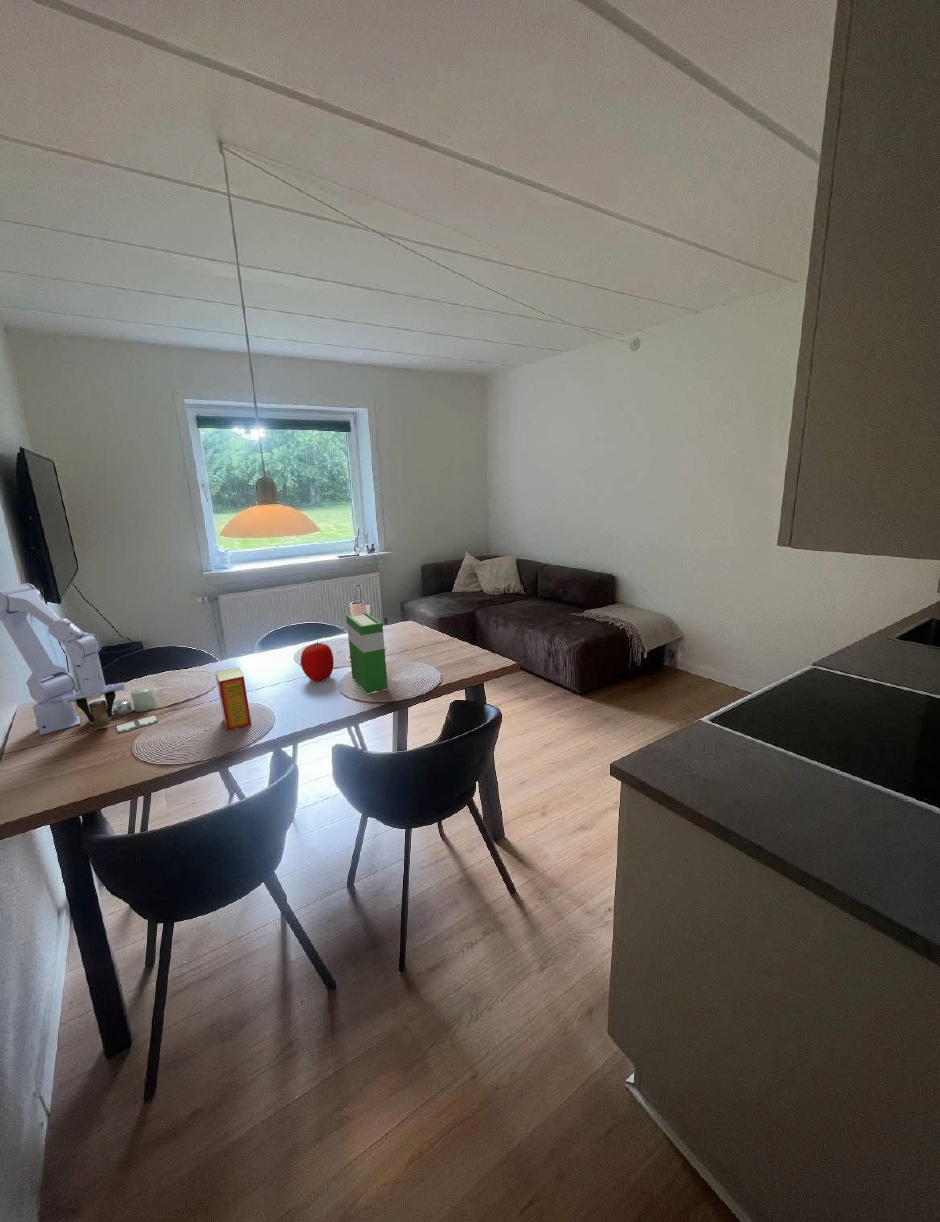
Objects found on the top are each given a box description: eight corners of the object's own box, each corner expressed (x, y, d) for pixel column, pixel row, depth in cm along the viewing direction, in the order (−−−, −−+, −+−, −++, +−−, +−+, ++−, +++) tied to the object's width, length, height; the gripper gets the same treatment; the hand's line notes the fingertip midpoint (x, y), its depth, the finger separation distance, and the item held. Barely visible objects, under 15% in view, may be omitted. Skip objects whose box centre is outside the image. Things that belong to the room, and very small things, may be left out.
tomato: (329, 685, 173) (325, 648, 170) (298, 686, 173) (293, 648, 170) (339, 672, 185) (336, 637, 182) (310, 673, 186) (305, 637, 182)
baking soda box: (223, 719, 150) (215, 670, 146) (246, 713, 154) (238, 665, 150) (227, 731, 143) (218, 680, 139) (251, 725, 146) (243, 675, 142)
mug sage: (136, 713, 156) (132, 696, 155) (132, 706, 162) (128, 689, 160) (157, 707, 160) (154, 690, 159) (153, 700, 166) (150, 684, 164)
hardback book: (352, 677, 180) (346, 615, 174) (371, 673, 183) (366, 612, 177) (367, 694, 165) (360, 626, 159) (387, 689, 168) (382, 623, 162)
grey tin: (115, 717, 154) (112, 707, 153) (113, 712, 158) (111, 702, 157) (133, 712, 157) (131, 702, 156) (131, 708, 161) (128, 698, 160)
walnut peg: (94, 729, 144) (89, 707, 142) (93, 724, 147) (88, 703, 145) (111, 724, 146) (106, 703, 145) (109, 720, 149) (104, 699, 148)
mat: (118, 733, 143) (118, 732, 143) (115, 725, 148) (115, 724, 148) (158, 722, 150) (157, 721, 150) (153, 714, 155) (153, 714, 155)
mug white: (89, 726, 149) (85, 708, 147) (87, 718, 154) (83, 700, 153) (113, 719, 152) (109, 702, 151) (110, 712, 158) (106, 695, 156)
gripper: (59, 687, 135) (70, 731, 139) (122, 673, 144) (131, 715, 148) (58, 680, 140) (69, 722, 144) (119, 667, 149) (128, 707, 153)
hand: (100, 718), depth 146 cm, fingers closed on walnut peg, 4 cm apart
